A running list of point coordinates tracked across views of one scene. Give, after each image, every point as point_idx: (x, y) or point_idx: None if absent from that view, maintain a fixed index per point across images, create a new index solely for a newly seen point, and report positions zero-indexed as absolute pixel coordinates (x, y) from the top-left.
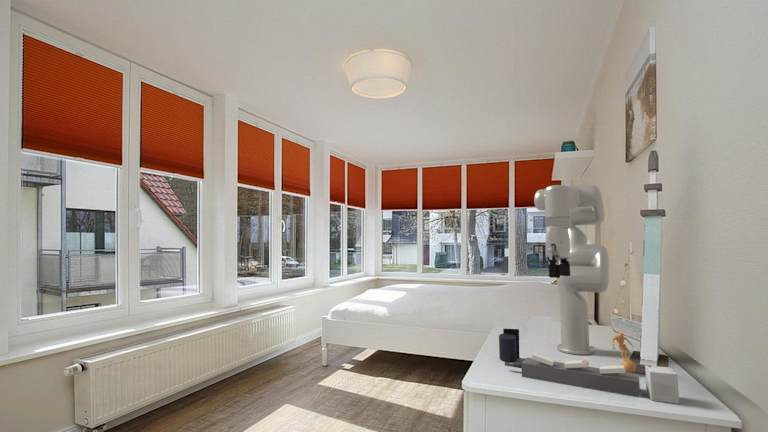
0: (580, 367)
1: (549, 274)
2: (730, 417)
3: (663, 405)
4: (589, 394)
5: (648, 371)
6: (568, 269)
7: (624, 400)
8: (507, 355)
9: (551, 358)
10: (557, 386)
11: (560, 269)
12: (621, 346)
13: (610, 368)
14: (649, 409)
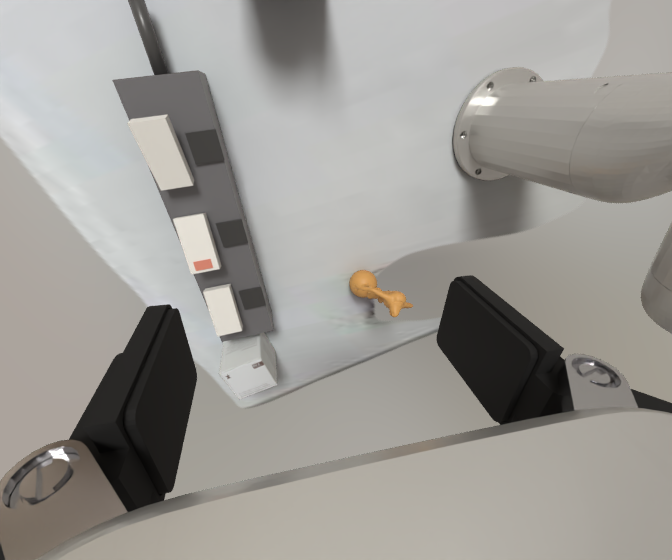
0: (221, 241)
1: (143, 324)
2: (238, 403)
3: (215, 353)
4: (159, 265)
5: (228, 368)
6: (465, 379)
7: (185, 313)
8: None
9: (187, 174)
10: (145, 198)
11: (484, 318)
12: (376, 296)
13: (211, 312)
14: None
